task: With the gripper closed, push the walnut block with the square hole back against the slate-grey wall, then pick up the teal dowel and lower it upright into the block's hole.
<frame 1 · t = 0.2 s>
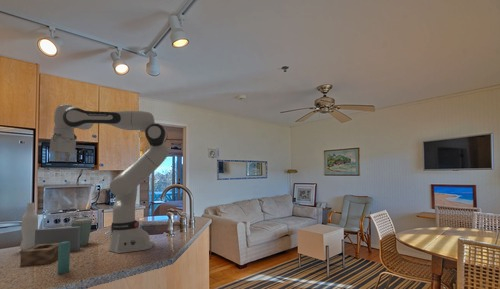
hand: (62, 161, 142), 47 cm above the worktop, tool pointing down, fingers open, 8 cm apart
socket block: (43, 253, 127), point 3 cm above the worktop, slide at 6.0 cm
disposable coffee cup: (81, 245, 152), on the worktop
water bottle: (28, 250, 144), on the worktop
dowel: (63, 272, 111), on the worktop
wall: (57, 251, 140), on the worktop
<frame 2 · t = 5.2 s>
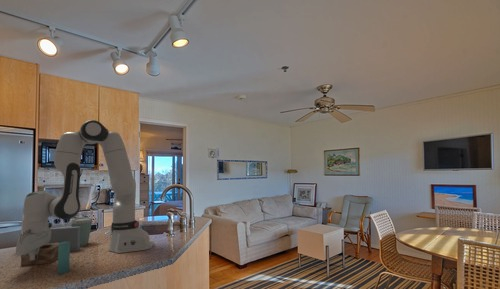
hand: (33, 259, 119), 3 cm above the worktop, tool pointing down, fingers closed
socket block: (43, 253, 127), point 3 cm above the worktop, slide at 5.6 cm, touching gripper
everything else where it was.
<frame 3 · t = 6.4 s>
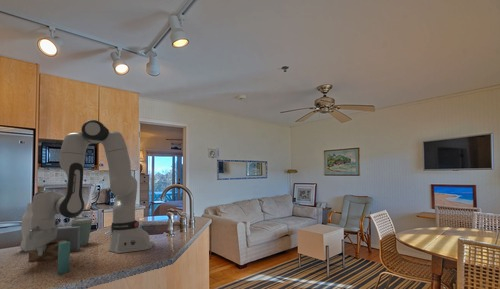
hand: (41, 254, 125), 3 cm above the worktop, tool pointing down, fingers closed
socket block: (49, 249, 133), point 3 cm above the worktop, slide at -0.1 cm, touching gripper
everything else where it was.
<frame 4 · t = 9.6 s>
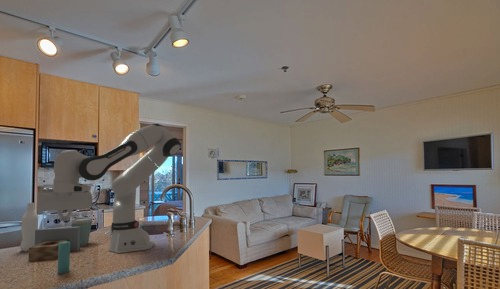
hand: (64, 220, 114), 21 cm above the worktop, tool pointing down, fingers closed
socket block: (49, 249, 133), point 3 cm above the worktop, slide at 0.0 cm
everything else where it was.
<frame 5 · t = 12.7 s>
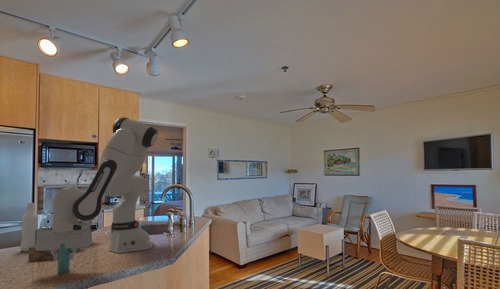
hand: (63, 259, 112), 5 cm above the worktop, tool pointing down, fingers closed on dowel, 4 cm apart
dowel: (63, 272, 111), on the worktop, touching gripper
everything else where it was.
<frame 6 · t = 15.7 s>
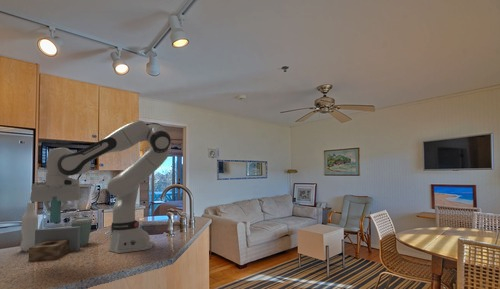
hand: (55, 210, 127), 23 cm above the worktop, tool pointing down, fingers closed on dowel, 4 cm apart
dowel: (55, 221, 126), point 18 cm above the worktop, touching gripper
everything else where it was.
when the fingers open (8 cm above the worktop, at t = 19.0 s): dowel drops 1 cm, resting on socket block.
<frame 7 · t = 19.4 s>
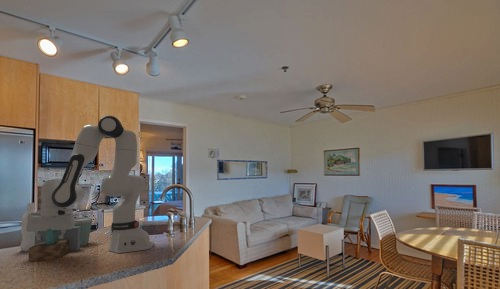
hand: (50, 239, 133), 8 cm above the worktop, tool pointing down, fingers open, 8 cm apart
socket block: (49, 249, 133), point 3 cm above the worktop, slide at 0.0 cm, touching dowel
dowel: (49, 252, 133), point 2 cm above the worktop, touching socket block
everything else where it was.
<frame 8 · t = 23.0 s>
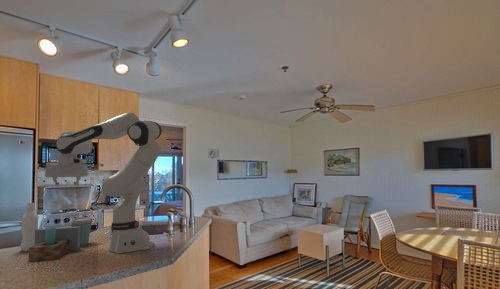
hand: (66, 185, 148), 34 cm above the worktop, tool pointing down, fingers open, 8 cm apart
nothing on the worktop moved.
at the end: socket block slide at 0.0 cm; dowel 0.0 cm from the target spot, point 1.7 cm above the worktop; dowel tilted 0° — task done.
